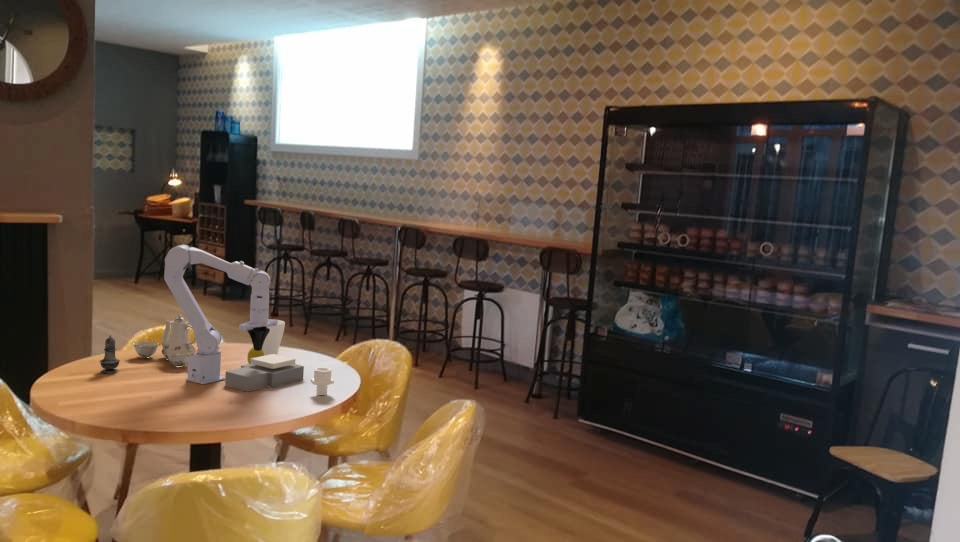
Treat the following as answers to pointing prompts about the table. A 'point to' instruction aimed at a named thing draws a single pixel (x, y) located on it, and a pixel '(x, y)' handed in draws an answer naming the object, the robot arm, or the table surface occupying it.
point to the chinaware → (171, 343)
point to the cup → (273, 338)
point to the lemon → (254, 354)
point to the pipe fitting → (322, 380)
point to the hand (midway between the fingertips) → (257, 350)
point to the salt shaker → (109, 357)
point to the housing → (262, 376)
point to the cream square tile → (272, 361)
